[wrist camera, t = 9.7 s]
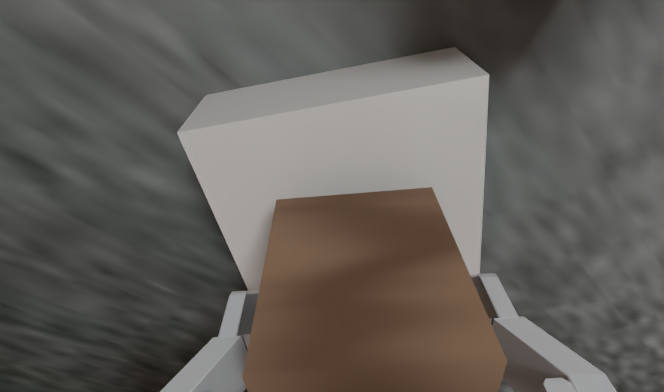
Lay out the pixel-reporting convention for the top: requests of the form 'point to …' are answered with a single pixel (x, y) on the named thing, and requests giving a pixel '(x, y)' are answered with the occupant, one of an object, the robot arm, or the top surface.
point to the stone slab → (344, 145)
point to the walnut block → (368, 301)
